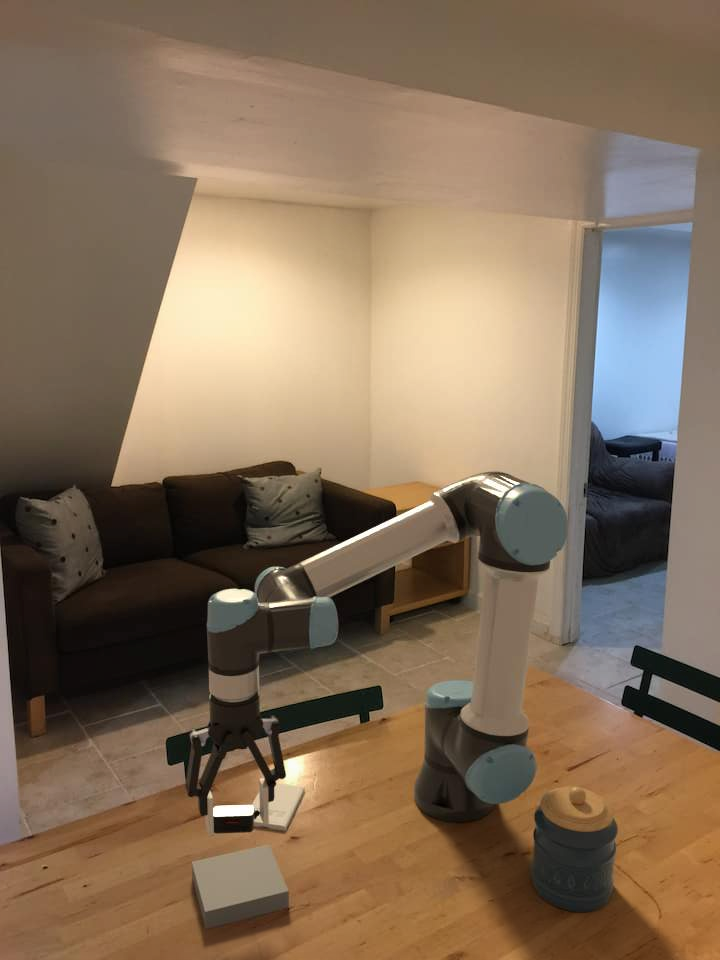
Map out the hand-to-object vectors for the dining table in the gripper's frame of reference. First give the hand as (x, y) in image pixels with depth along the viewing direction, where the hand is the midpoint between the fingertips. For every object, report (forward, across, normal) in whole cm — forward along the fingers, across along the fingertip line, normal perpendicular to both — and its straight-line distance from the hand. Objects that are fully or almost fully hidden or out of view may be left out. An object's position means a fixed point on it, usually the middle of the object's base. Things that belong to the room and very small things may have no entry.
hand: (237, 825), depth 129 cm
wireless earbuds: (0, 0, 0) cm, 0 cm away
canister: (+12, -51, +17) cm, 55 cm away
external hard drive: (+13, -11, -20) cm, 26 cm away
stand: (+12, 0, 0) cm, 12 cm away
